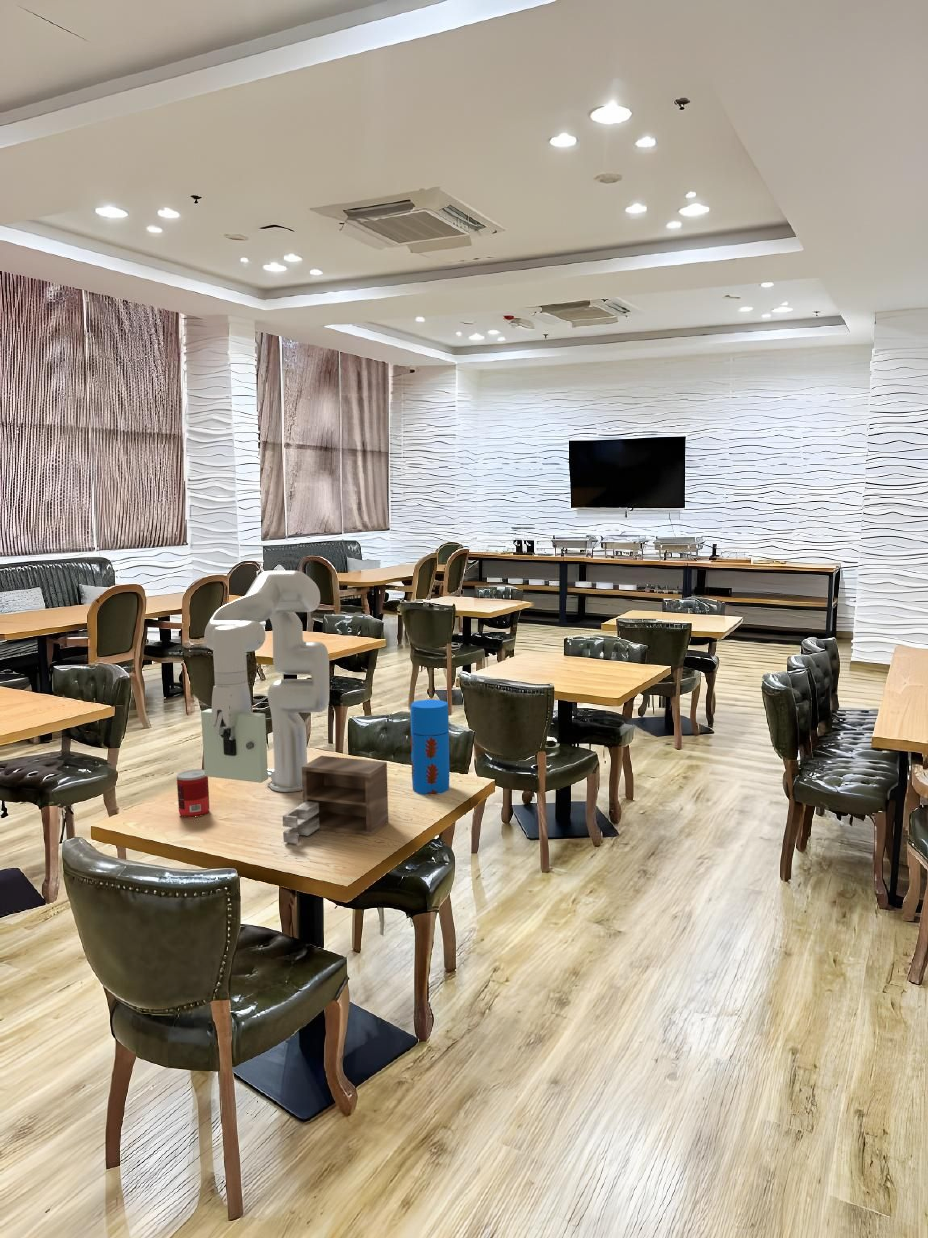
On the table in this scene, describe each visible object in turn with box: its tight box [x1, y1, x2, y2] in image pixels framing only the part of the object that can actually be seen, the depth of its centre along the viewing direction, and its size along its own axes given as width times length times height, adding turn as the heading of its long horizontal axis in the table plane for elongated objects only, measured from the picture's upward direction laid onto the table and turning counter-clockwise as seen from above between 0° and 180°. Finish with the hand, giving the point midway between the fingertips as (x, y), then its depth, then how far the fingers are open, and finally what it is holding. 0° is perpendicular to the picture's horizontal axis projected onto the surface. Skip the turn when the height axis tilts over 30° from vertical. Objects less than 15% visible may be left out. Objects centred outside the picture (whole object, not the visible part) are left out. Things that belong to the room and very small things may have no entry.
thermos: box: [409, 699, 450, 796], centre depth 248 cm, size 11×11×25 cm
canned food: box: [176, 768, 210, 818], centre depth 232 cm, size 8×8×11 cm
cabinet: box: [282, 755, 389, 845], centre depth 217 cm, size 19×21×16 cm
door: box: [200, 708, 269, 784], centre depth 207 cm, size 16×4×16 cm, turn 69°
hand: (234, 752), depth 208 cm, fingers closed on door, 3 cm apart
